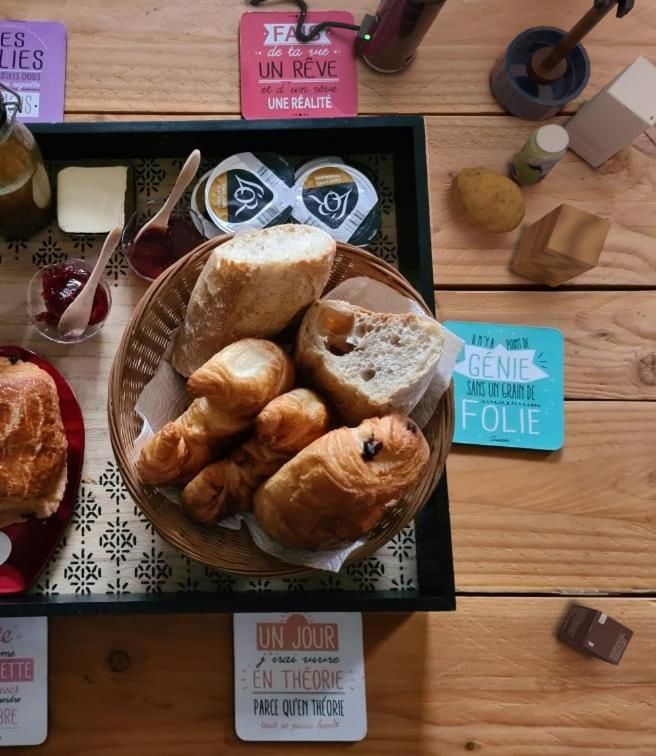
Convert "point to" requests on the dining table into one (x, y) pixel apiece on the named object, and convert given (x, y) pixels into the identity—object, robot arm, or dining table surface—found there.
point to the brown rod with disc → (562, 49)
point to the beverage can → (540, 154)
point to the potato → (488, 199)
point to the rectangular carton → (615, 114)
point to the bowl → (524, 93)
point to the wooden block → (561, 245)
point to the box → (595, 633)
